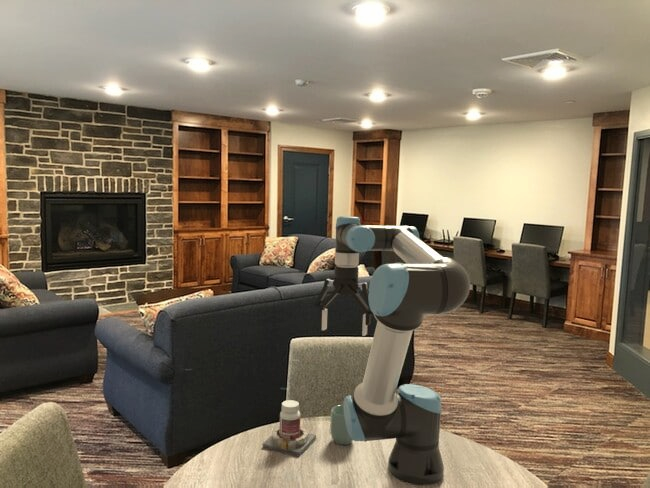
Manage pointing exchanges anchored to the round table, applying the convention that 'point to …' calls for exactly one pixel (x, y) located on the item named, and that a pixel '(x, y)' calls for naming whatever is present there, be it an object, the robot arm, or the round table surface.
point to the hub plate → (290, 450)
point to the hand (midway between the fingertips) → (344, 332)
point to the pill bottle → (289, 420)
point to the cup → (339, 426)
